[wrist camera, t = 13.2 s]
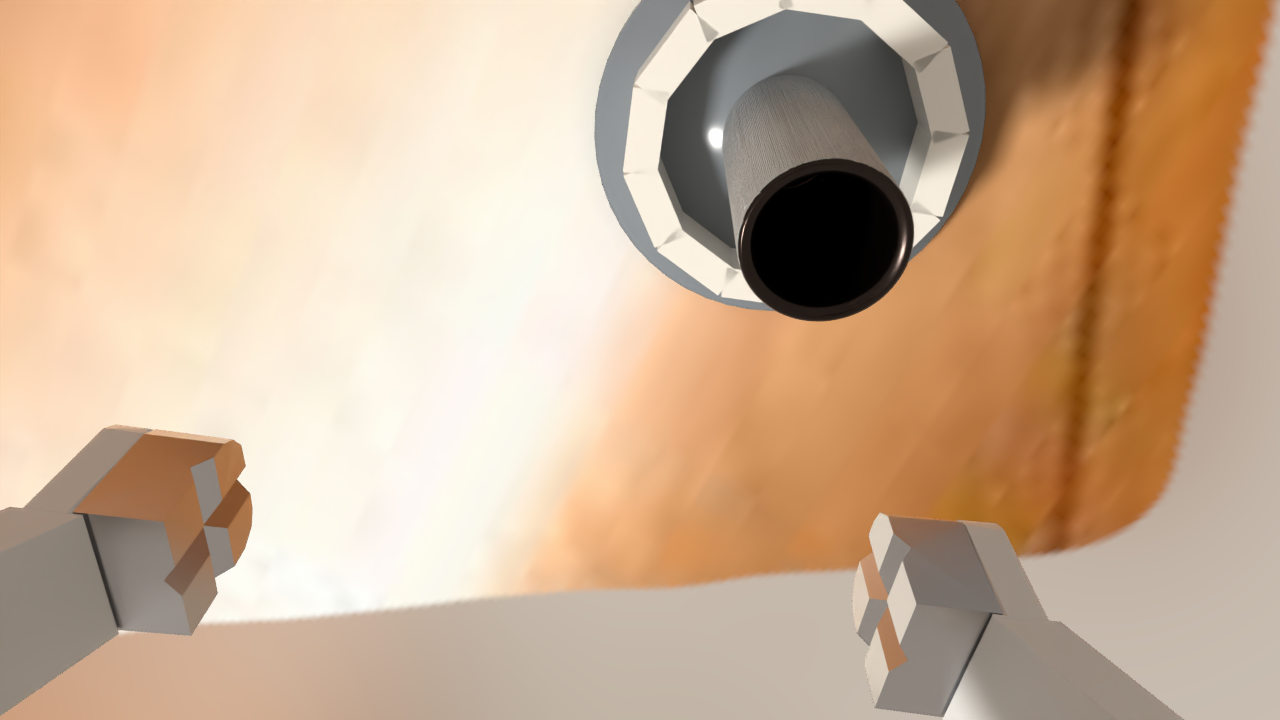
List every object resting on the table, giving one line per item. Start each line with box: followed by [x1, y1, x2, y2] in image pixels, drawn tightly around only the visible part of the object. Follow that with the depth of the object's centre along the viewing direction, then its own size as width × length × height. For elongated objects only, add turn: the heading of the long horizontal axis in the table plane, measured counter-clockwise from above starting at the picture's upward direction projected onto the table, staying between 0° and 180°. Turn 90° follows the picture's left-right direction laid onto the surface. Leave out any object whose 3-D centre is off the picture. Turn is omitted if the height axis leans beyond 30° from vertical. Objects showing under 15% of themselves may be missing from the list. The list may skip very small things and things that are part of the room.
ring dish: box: [595, 0, 985, 311], centre depth 30 cm, size 14×14×3 cm
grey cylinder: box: [722, 75, 914, 321], centre depth 26 cm, size 4×4×10 cm
